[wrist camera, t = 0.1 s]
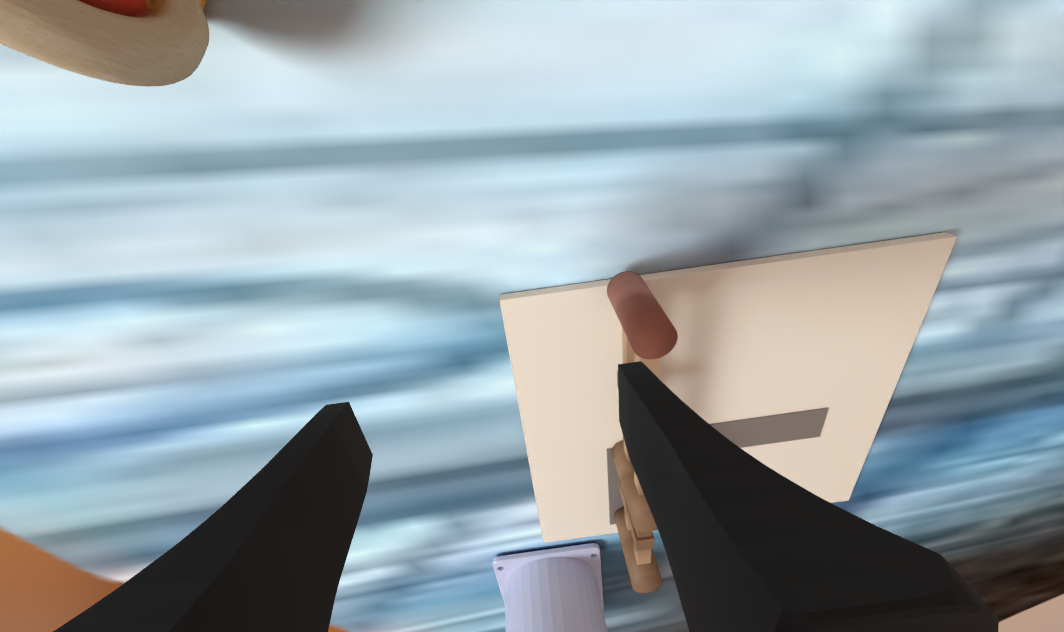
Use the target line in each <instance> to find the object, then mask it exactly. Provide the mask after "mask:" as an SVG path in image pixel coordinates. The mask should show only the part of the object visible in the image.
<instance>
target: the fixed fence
mask: <svg viewBox="0 0 1064 632" xmlns="http://www.w3.org/2000/svg"><path fill="white" fill-rule="evenodd" d="M612 456H613V459H614V462H615V466H616V469H617V473H618V476H619V479H620V480H619V491H620V494H621V498H622V501H623V505H624V506H623V507H620V508H619V509H617V510H616V511H615V513H614V518H615V522H616V526H617V530H618V533H619V537H620V541H621V545H622V549H623V553H624V557H625V561H626V565H627V568H628V572H629V576H630V580H631V584H632V588H633V590H634V591H636V592H638V593H649V592H653V591H655V590H657V589H659V588H660V587H661V586H662V579H661V576H660V573H659V570H658V566H657V563H656V560H655V557H654V554H653V551H652V549H654V536H653V533H652V531H653V530H656V529H658V528H657V526H656V523H655V521H654V518H653V516H652V513H651V511H650V508H649V506H648V503H647V501H646V498H645V496H644V495H639V494H638V491H637V488H636V485H635V482H634V468H633V466H632V463H631V461H627V458H626V454H625V451H624V441H623V440H621V441H619V442H617V443H616V444H615V445H614V446H613V447H612Z"/></svg>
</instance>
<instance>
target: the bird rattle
mask: <svg viewBox="0 0 1064 632" xmlns="http://www.w3.org/2000/svg"><path fill="white" fill-rule="evenodd" d="M205 4H206V0H0V44H3V45H5V46H7V47H9V48H12V49H14V50H16V51H18V52H21V53H23V54H26V55H28V56H31V57H34V58H36V59H39V60H41V61H44V62H47V63H49V64H52V65H54V66H57V67H60V68H63V69H66V70H69V71H72V72H75V73H78V74H81V75H85V76H89V77H92V78H96V79H101V80H105V81H109V82H113V83H120V84H126V85H135V86H164V85H169V84H173V83H176V82H179V81H181V80H183V79H185V78H187V77H189V76H190V75H191V74H192V73H193V72H194V71H195V70H196V69H197V67H198V66H199V64H200V62H201V60H202V58H203V56H204V54H205V51H206V49H207V46H208V43H209V28H208V23H207V20H206V17H205V14H204V12H203V9H204V7H205Z"/></svg>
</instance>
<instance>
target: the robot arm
mask: <svg viewBox="0 0 1064 632" xmlns="http://www.w3.org/2000/svg"><path fill="white" fill-rule="evenodd" d="M618 392H619V422H620V426H621V430H622V434H623V437H624V441H625V445H626V448H627V452H628V455H629V458H630V461H631V463H632V466H633V468H634V471H635V473H636V476H637V478H638V481H639V483H640V486H641V488H642V491H643V493H644V496H645V498H646V501H647V503H648V506H649V508H650V511H651V513H652V516H653V518H654V521H655V523H656V526H657V528H658V531H659V533H660V536H661V539H662V541H663V544H664V547H665V550H666V553H667V556H668V560H669V563H670V566H671V570H672V573H673V576H674V580H675V583H676V586H677V590H678V593H679V597H680V600H681V604H682V607H683V611H684V614H685V618H686V621H687V625H688V628H689V632H998V623H999V618H998V617H997V616H996V615H995V614H994V612H993V611H992V610H991V609H990V608H989V607H988V606H987V604H986V603H985V602H984V601H983V600H982V599H981V598H980V596H979V595H978V594H977V593H976V592H975V591H974V589H973V588H972V587H971V586H970V585H969V584H968V583H967V581H966V580H965V579H964V578H963V577H962V576H961V575H960V574H959V573H958V572H957V571H956V570H955V569H954V568H953V567H952V566H951V565H950V564H949V563H948V562H947V561H946V560H945V559H944V558H943V557H942V556H941V555H940V554H938V553H936V552H933V551H931V550H929V549H927V548H924V547H922V546H920V545H918V544H916V543H913V542H911V541H909V540H907V539H904V538H902V537H900V536H898V535H895V534H893V533H891V532H889V531H886V530H884V529H882V528H880V527H877V526H875V525H873V524H871V523H869V522H867V521H865V520H863V519H861V518H859V517H857V516H855V515H853V514H851V513H849V512H847V511H845V510H843V509H841V508H839V507H837V506H835V505H833V504H831V503H830V502H828V501H826V500H824V499H822V498H820V497H818V496H817V495H815V494H813V493H811V492H810V491H808V490H806V489H804V488H803V487H801V486H799V485H798V484H796V483H794V482H792V481H791V480H789V479H787V478H786V477H784V476H782V475H780V474H779V473H777V472H776V471H774V470H772V469H771V468H769V467H768V466H766V465H764V464H763V463H761V462H760V461H759V460H757V459H756V458H754V457H753V456H751V455H750V454H748V453H747V452H745V451H744V450H742V449H741V448H740V447H738V446H737V445H736V444H734V443H733V442H732V441H730V440H729V439H728V438H726V437H725V436H724V435H722V434H721V433H720V432H719V431H717V430H716V429H715V428H714V427H712V426H711V425H710V424H709V423H707V422H706V421H705V420H704V419H703V418H701V417H700V416H699V415H698V414H697V413H696V412H694V411H693V410H692V409H691V408H690V407H689V406H688V405H687V404H685V403H684V402H683V401H682V400H681V399H680V398H679V397H678V396H677V395H675V394H674V393H673V392H672V391H671V390H670V389H669V388H668V387H667V386H666V385H665V384H664V383H663V382H662V381H661V380H660V379H659V378H658V377H657V376H656V375H655V374H654V373H653V372H652V371H651V370H650V369H649V368H648V367H647V366H646V365H645V364H644V363H642V362H641V361H638V362H631V363H624V364H618ZM372 456H373V455H372V453H371V450H370V448H369V446H368V444H367V441H366V439H365V437H364V435H363V433H362V430H361V428H360V426H359V424H358V421H357V419H356V417H355V415H354V413H353V410H352V408H351V406H350V404H349V402H344V403H337V404H330V405H326V406H324V407H323V408H322V409H321V410H320V411H319V412H318V413H317V414H316V415H315V416H314V417H313V418H312V419H311V420H310V421H309V422H308V423H307V424H306V425H305V426H304V427H303V428H302V429H301V430H300V431H299V432H298V433H297V434H296V435H295V436H294V437H293V438H292V439H291V440H290V441H289V442H288V443H287V444H286V445H285V446H284V447H283V448H282V449H281V450H280V451H279V452H278V453H277V454H276V455H275V457H274V458H273V459H272V460H271V461H270V462H269V463H268V464H267V465H266V466H265V467H264V468H263V469H261V470H260V471H259V472H258V473H257V474H256V475H255V476H254V477H253V478H252V479H251V480H250V481H249V482H248V483H247V484H246V485H244V486H243V487H242V488H241V489H240V490H239V491H238V492H237V493H236V494H235V495H234V496H233V497H232V498H231V499H230V500H228V501H227V502H226V503H225V504H224V505H223V506H222V507H221V508H220V509H218V510H217V511H216V512H215V513H214V514H213V515H212V516H210V517H209V518H208V519H207V520H206V521H205V522H203V523H202V524H201V525H200V526H198V527H197V528H196V529H195V530H194V531H192V532H191V533H190V534H189V535H188V536H186V537H185V538H184V539H183V540H181V541H180V542H179V543H178V544H176V545H175V546H174V547H173V548H171V549H170V550H169V551H167V552H166V553H165V554H163V555H162V556H161V557H159V558H158V559H157V560H155V561H154V562H153V563H151V564H150V565H149V566H147V567H146V568H145V569H143V570H142V571H140V572H139V573H138V574H136V575H135V576H134V577H132V578H131V579H130V580H128V581H127V582H126V583H124V584H123V585H122V586H120V587H119V588H117V589H116V590H115V591H113V592H112V593H110V594H109V595H107V596H106V597H104V598H103V599H101V600H100V601H99V602H97V603H96V604H94V605H93V606H91V607H90V608H88V609H87V610H85V611H84V612H83V613H81V614H79V615H78V616H76V617H75V618H73V619H72V620H70V621H69V622H67V623H66V624H64V625H63V626H61V627H60V628H58V629H57V630H55V631H53V632H328V628H329V624H330V619H331V614H332V609H333V604H334V600H335V596H336V592H337V588H338V584H339V581H340V577H341V574H342V570H343V567H344V564H345V561H346V558H347V554H348V551H349V548H350V545H351V541H352V538H353V535H354V532H355V529H356V525H357V522H358V519H359V515H360V512H361V509H362V505H363V502H364V499H365V495H366V492H367V486H368V481H369V475H370V469H371V462H372ZM493 568H494V571H495V574H496V578H497V581H498V584H499V588H500V591H501V594H502V597H503V601H504V604H505V621H506V632H607V627H606V622H605V617H604V612H603V608H604V604H603V589H602V574H601V558H600V548H599V545H598V544H596V543H590V544H582V545H575V546H568V547H561V548H554V549H547V550H539V551H532V552H525V553H518V554H511V555H504V556H497V557H495V558H494V559H493Z"/></svg>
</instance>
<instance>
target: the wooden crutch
mask: <svg viewBox="0 0 1064 632" xmlns="http://www.w3.org/2000/svg"><path fill="white" fill-rule="evenodd" d="M607 295H608V298H609V300H610V302H611V304H612V306H613V308H614V310H615V313H616V315H617V317H618V319H619V321H620V323H621V325H622V359H623V364H624V363H631V362H638V361H641V362H642V363H644V364H645V365H646V366H647V367H648V368H649V369H650V370H651V371H652V372H653V373H654V374H655V375H656V376H657V377H658V378H659V370H660V358H661V357H663V356H665V355H666V354H668V353H669V352H670V351H671V350H672V349H673V348H674V346H675V345H676V343H677V338H678V335H677V331H676V329H675V327H674V326H673V324H672V323H671V321H670V320H669V318H668V317H667V315H666V314H665V312H664V311H663V309H662V308H661V306H660V305H659V303H658V301H657V300H656V298H655V297H654V295H653V294H652V292H651V291H650V289H649V288H648V286H647V285H646V283H645V282H644V280H643V279H642V277H641V276H640V275H639V274H637V273H635V272H631V271H627V272H622V273H619V274H617V275H616V276H614V277H613V278H612V279H611V280H610V282H609V284H608V286H607ZM617 387H618V372H617ZM624 451H625V454H626V458H627V461H630V458H629V455H628V452H627V448H626V445H625V441H624ZM634 482H635V485H636V488H637V491H638V494H639V495H644V493H643V491H642V488H641V486H640V483H639V481H638V478H637V476H636V473H635V471H634Z"/></svg>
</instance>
